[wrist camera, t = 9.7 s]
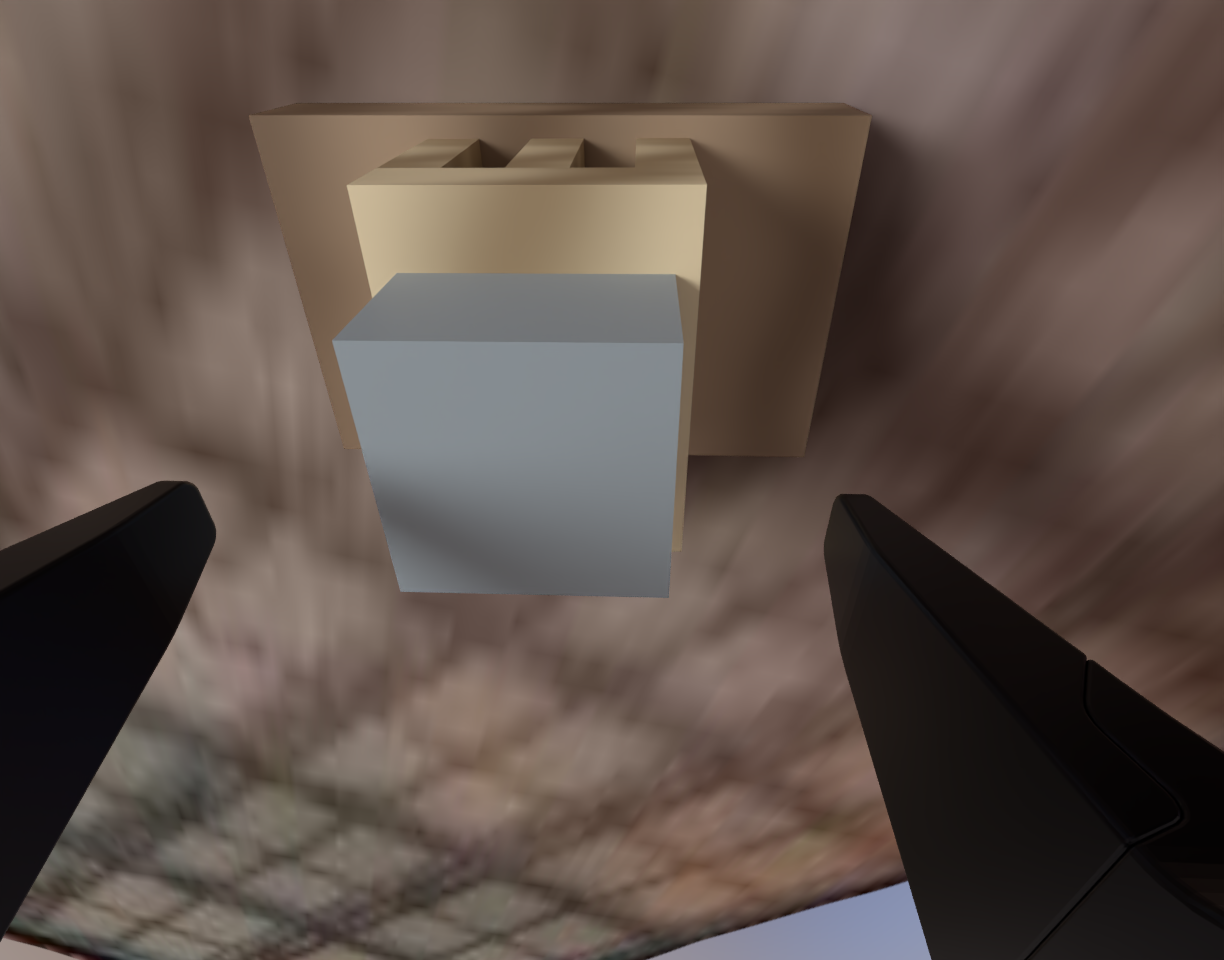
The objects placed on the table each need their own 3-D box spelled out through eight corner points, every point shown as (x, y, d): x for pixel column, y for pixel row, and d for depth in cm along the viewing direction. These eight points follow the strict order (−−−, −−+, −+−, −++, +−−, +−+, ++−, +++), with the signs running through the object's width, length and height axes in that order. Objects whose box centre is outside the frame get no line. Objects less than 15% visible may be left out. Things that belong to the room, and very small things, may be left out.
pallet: (689, 138, 15) (706, 184, 11) (673, 439, 19) (681, 551, 15) (427, 139, 15) (346, 185, 11) (473, 436, 20) (428, 546, 16)
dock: (843, 102, 16) (872, 115, 14) (788, 415, 22) (804, 457, 20) (296, 103, 17) (248, 115, 15) (371, 408, 22) (344, 448, 20)
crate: (675, 274, 12) (683, 343, 9) (664, 499, 14) (668, 597, 12) (396, 272, 12) (331, 340, 9) (441, 495, 15) (400, 591, 12)
